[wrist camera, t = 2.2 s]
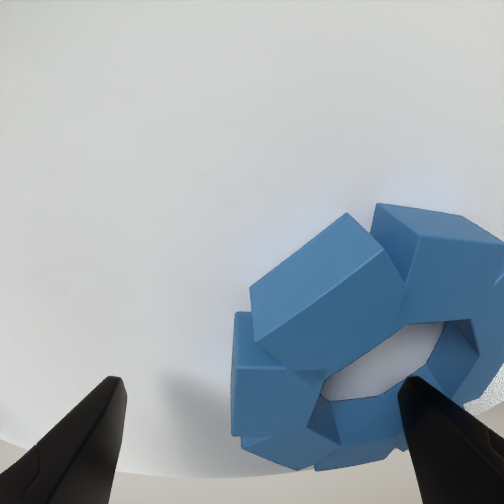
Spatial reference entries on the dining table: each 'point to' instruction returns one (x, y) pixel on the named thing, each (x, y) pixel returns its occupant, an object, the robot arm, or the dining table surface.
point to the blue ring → (363, 332)
